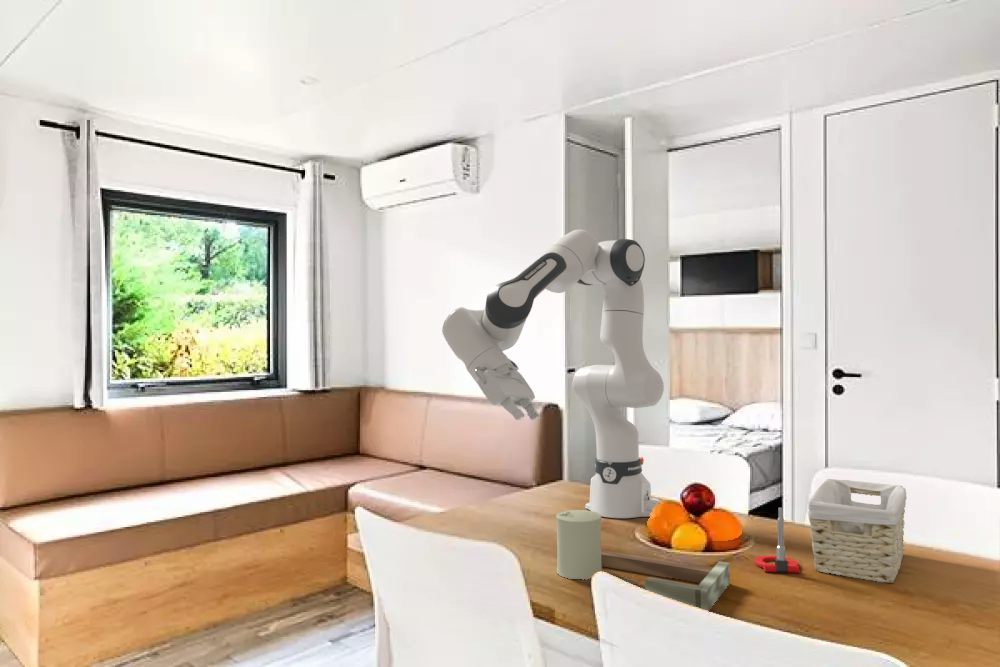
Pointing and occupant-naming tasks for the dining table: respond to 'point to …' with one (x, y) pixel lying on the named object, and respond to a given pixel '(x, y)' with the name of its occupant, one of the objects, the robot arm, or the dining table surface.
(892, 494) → the storage basket
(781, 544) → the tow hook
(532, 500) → the dining table surface
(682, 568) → the rail stop
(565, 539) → the can
